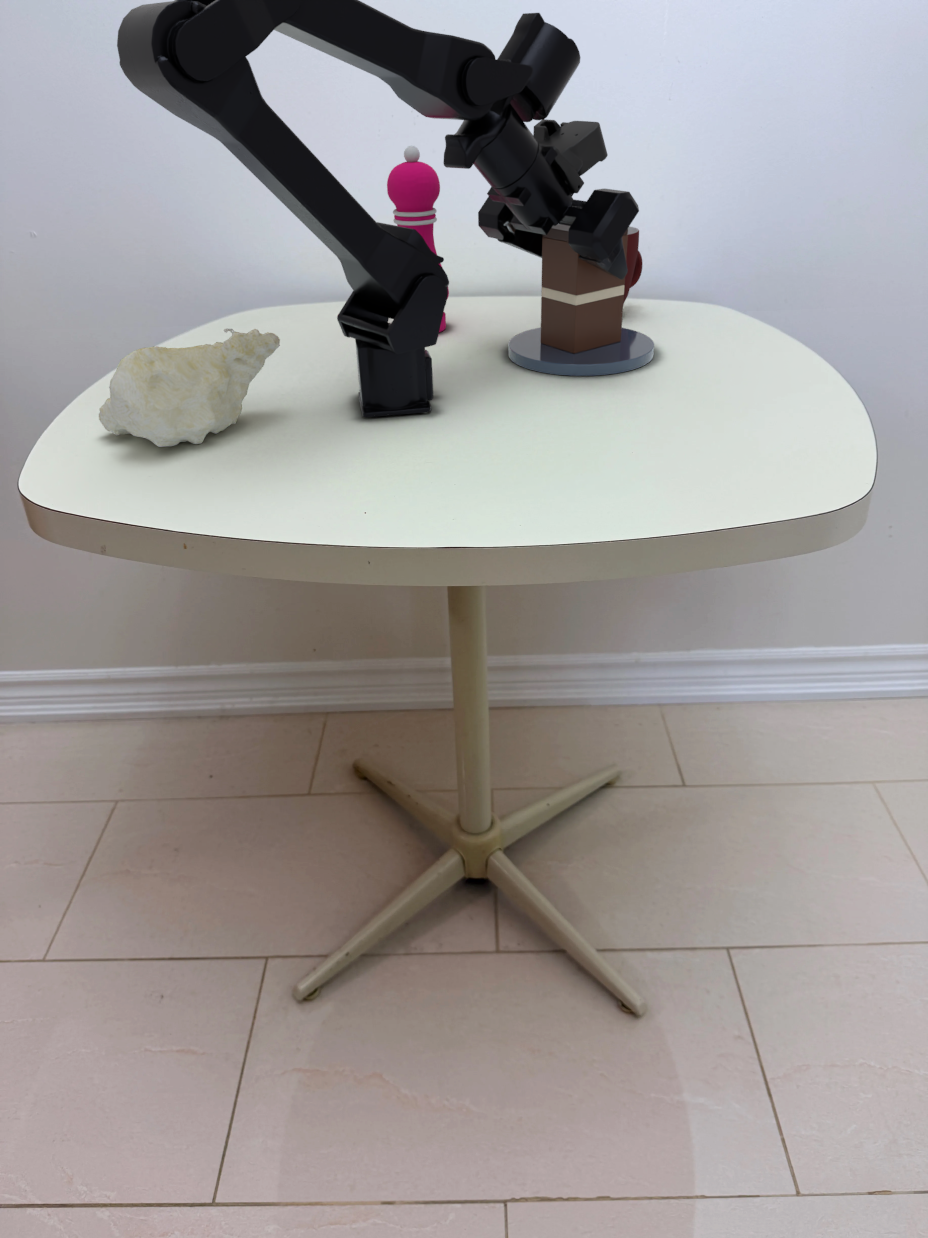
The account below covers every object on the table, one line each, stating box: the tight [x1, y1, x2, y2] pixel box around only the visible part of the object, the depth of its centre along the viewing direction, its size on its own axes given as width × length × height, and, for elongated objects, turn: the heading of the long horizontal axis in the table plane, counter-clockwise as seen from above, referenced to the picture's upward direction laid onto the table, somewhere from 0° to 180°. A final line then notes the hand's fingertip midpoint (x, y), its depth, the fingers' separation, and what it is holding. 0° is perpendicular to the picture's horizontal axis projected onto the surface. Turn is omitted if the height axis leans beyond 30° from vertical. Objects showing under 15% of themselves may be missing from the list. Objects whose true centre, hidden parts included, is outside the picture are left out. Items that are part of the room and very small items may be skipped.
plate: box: [507, 326, 655, 377], centre depth 100 cm, size 16×16×1 cm
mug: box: [623, 225, 643, 305], centre depth 111 cm, size 11×8×10 cm
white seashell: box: [98, 328, 281, 448], centre depth 80 cm, size 15×7×15 cm
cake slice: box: [540, 224, 628, 354], centre depth 96 cm, size 7×6×12 cm
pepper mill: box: [386, 145, 450, 333], centre depth 105 cm, size 7×7×20 cm
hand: (593, 268), depth 96 cm, fingers open, 9 cm apart
